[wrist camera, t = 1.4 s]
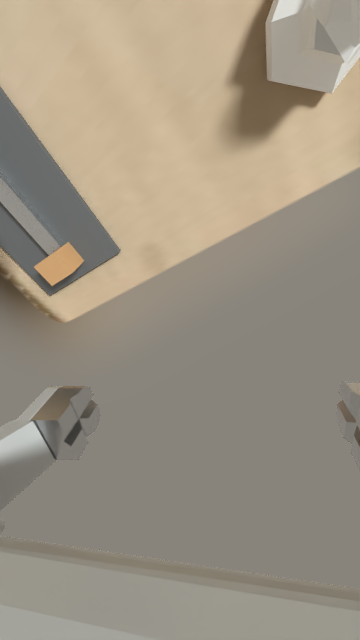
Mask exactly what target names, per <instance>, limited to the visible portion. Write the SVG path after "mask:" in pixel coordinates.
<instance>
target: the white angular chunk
mask: <svg viewBox="0 0 360 640" xmlns="http://www.w3.org/2000/svg"><path fill="white" fill-rule="evenodd" d="M265 25H266V63H267V80H269V81H273V82H278V83H282V84H287V85H292V86H297V87H302V88H307V89H312V90H317V91H322V92H327V93H333V91H334V90H335V89H336V87H337V86H338V85H339V83H340V82H341V81H342V79H343V78H344V77H345V76H346V74H347V73H348V72H349V70H350V69H351V68H352V66H353V65H354V64H355V62H356V61H357V60H358V58H359V57H360V0H273V3H272V6H271V9H270V11H269V14H268V17H267V20H266V23H265Z"/></svg>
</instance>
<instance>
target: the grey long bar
mask: <svg viewBox="0 0 360 640" xmlns="http://www.w3.org/2000/svg"><path fill="white" fill-rule="evenodd" d="M0 202H1V203H2V204H3V205H4V206H5V208H6V209H7V210H8V211H9V212H10V213H11V214H12V215H13V216H14V218H15V219H16V220H17V221H18V222H19V223H20V224H21V225H22V226H23V227H24V229H25V230H26V231H27V232H28V233H29V234H30V235H31V236H32V237H33V239H34V240H35V241H36V242H37V243H38V244H39V245H40V246H41V247H42V248H43V250H44V251H45V252H46V253H47V254H48V255H51V254H52V253H54V252H55V251H57V250H58V249H59V248H61V247H62V246H63V245H65V244H64V243H63V242H62V240H61V239H60V238H59V237H58V236H57V235H56V233H55V232H54V231H53V230H52V229H51V228H50V226H49V225H48V224H47V223H46V222H45V220H44V219H43V218H42V217H41V216H40V215H39V213H38V212H37V211H36V210H35V209H34V207H33V206H32V205H31V204H30V203H29V202H28V200H27V199H26V198H25V197H24V196H23V195H22V193H21V192H20V191H19V190H18V189H17V187H16V186H15V185H14V184H13V183H12V182H11V180H10V179H9V178H8V177H7V176H6V174H5V173H4V172H3V171H2V170H1V169H0Z"/></svg>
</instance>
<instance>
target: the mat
mask: <svg viewBox="0 0 360 640" xmlns="http://www.w3.org/2000/svg"><path fill="white" fill-rule="evenodd" d="M0 169H1V170H2V171H3V172H4V173H5V174H6V176H7V177H8V178H9V179H10V180H11V182H12V183H13V184H14V185H15V186H16V187H17V189H18V190H19V191H20V192H21V193H22V195H23V196H24V197H25V198H26V199H27V200H28V202H29V203H30V204H31V205H32V206H33V207H34V209H35V210H36V211H37V212H38V213H39V215H40V216H41V217H42V218H43V219H44V220H45V222H46V223H47V224H48V225H49V226H50V228H51V229H52V230H53V231H54V232H55V233H56V235H57V236H58V237H59V238H60V239H61V240H62V242H63V243H64V244H66V243H67V242H69V243H70V244H71V245H72V246H73V248H74V249H75V250H76V251H77V252H78V254H79V255H80V256H81V257H82V258H83V260H84V262H83V263H82V264H81V265H80V266H79V267H78V268H77V269H76V270H75V271H74V272H73V273H72V274H70V275H69V276H67V277H65V278H64V279H62V280H61V281H59V282H58V283H56V284H55V285H53V286H51V285H50V283H49V282H48V281H47V280H46V279H45V278H44V277H43V276H42V275H41V274H40V273H39V272H38V271H37V270H36V269H35V268H34V266H35V265H37V264H38V263H40V262H41V261H42V260H44V259H45V258H46V257H48V256H49V255H48V254H47V253H46V252H45V251H44V250H43V248H42V247H41V246H40V245H39V244H38V243H37V242H36V241H35V240H34V239H33V237H32V236H31V235H30V234H29V233H28V232H27V231H26V230H25V229H24V227H23V226H22V225H21V224H20V223H19V222H18V221H17V220H16V219H15V218H14V216H13V215H12V214H11V213H10V212H9V211H8V210H7V209H6V208H5V206H4V205H3V204H2V203H1V202H0V246H1V247H2V248H3V249H4V250H5V251H6V252H7V253H8V254H9V255H10V256H11V257H12V258H13V259H14V260H15V261H16V262H17V263H18V264H19V265H20V266H21V267H22V268H23V269H24V270H25V271H26V272H27V273H28V274H29V275H30V276H31V277H32V278H33V279H34V280H35V281H36V282H37V283H38V284H39V285H40V286H41V287H42V288H43V289H44V290H45V291H46V292H47V293H48V294H49V295H52V294H54V293H55V292H57V291H58V290H60V289H62V288H63V287H65V286H66V285H68V284H70V283H71V282H73V281H75V280H76V279H78V278H79V277H81V276H83V275H84V274H86V273H87V272H89V271H91V270H92V269H94V268H95V267H97V266H99V265H100V264H102V263H103V262H105V261H107V260H108V259H110V258H111V257H113V256H115V255H116V254H118V253H119V252H120V251H121V250H120V249H119V248H118V246H117V245H116V244H115V242H114V241H113V240H112V238H111V237H110V235H109V234H108V233H107V231H106V230H105V229H104V227H103V226H102V225H101V223H100V222H99V220H98V219H97V218H96V216H95V215H94V214H93V212H92V211H91V210H90V208H89V207H88V205H87V204H86V203H85V201H84V200H83V199H82V197H81V196H80V195H79V193H78V192H77V190H76V189H75V188H74V186H73V185H72V184H71V182H70V181H69V180H68V178H67V177H66V176H65V174H64V173H63V171H62V170H61V169H60V167H59V166H58V165H57V163H56V162H55V161H54V159H53V158H52V156H51V155H50V154H49V152H48V151H47V150H46V148H45V147H44V146H43V144H42V143H41V141H40V140H39V139H38V137H37V136H36V135H35V133H34V132H33V131H32V129H31V128H30V127H29V125H28V124H27V122H26V121H25V120H24V118H23V117H22V116H21V114H20V113H19V112H18V110H17V109H16V107H15V106H14V105H13V103H12V102H11V101H10V99H9V98H8V97H7V95H6V94H5V92H4V91H3V90H2V88H1V87H0Z"/></svg>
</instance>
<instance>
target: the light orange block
mask: <svg viewBox="0 0 360 640" xmlns="http://www.w3.org/2000/svg"><path fill="white" fill-rule="evenodd" d="M83 262H84V260H83V258H82V257H81V256H80V255H79V254H78V252H77V251H76V250H75V249H74V248H73V246H72V245H71V244H70V243H69V242H67V243H66V244H65V245H63V246H62V247H61V248H59V249H58V250H57V251H55V252H54V253H52V254H51V255H49V256H48V257H46V258H45V259H44V260H42V261H41V262H40V263H38V264H37V265H35V266H34V268H35V269H36V270H37V271H38V272H39V273H40V274H41V275H42V276H43V277H44V278H45V279H46V280H47V281H48V282H49V283H50V285H51V286H53V285H55V284H56V283H58V282H59V281H61V280H62V279H64V278H65V277H67V276H69V275H70V274H72V273H73V272H74V271H75V270H76V269H77V268H78V267H79V266H80V265H81V264H82V263H83Z"/></svg>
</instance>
